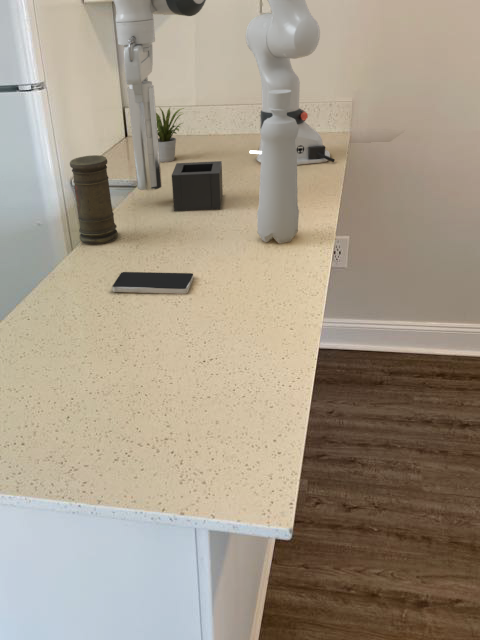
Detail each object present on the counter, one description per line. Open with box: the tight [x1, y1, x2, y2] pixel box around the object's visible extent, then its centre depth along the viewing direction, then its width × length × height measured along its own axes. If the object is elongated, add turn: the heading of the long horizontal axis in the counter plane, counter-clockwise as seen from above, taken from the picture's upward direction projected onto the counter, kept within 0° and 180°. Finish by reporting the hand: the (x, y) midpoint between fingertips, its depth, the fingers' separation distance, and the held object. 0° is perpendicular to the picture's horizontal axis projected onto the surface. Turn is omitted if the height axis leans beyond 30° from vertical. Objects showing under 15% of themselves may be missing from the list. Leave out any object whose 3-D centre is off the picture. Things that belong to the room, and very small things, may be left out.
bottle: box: [256, 90, 300, 244], centre depth 143 cm, size 9×9×30 cm
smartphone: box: [111, 271, 194, 295], centre depth 134 cm, size 8×1×15 cm
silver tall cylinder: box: [126, 80, 163, 192], centre depth 170 cm, size 6×6×25 cm
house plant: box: [156, 106, 185, 163], centre depth 214 cm, size 14×14×16 cm
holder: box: [171, 160, 224, 212], centre depth 175 cm, size 12×12×9 cm
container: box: [69, 154, 119, 246], centre depth 155 cm, size 9×9×18 cm
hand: (141, 99), depth 165 cm, fingers closed on silver tall cylinder, 6 cm apart
